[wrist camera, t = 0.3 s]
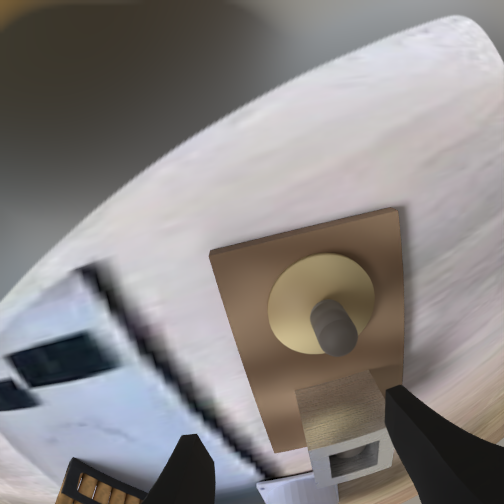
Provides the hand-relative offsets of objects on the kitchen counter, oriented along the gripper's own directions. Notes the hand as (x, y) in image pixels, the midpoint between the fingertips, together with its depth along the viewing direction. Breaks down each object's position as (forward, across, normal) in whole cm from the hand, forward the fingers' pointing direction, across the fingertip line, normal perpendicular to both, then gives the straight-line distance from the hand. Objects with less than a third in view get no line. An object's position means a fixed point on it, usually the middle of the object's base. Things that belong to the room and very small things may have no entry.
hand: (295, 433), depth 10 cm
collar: (+9, -3, +9) cm, 13 cm away
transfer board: (+10, -3, +4) cm, 11 cm away
